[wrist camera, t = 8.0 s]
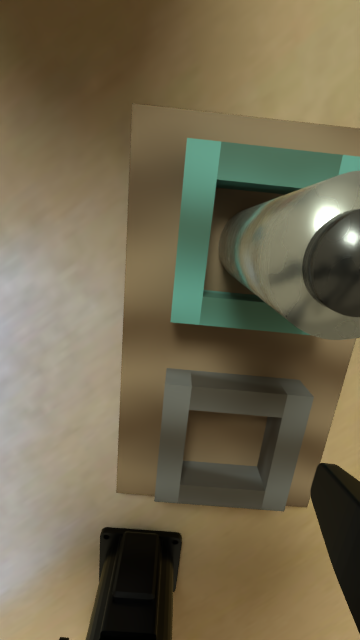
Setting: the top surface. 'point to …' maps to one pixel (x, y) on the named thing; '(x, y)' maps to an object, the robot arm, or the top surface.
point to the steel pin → (302, 255)
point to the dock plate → (219, 316)
